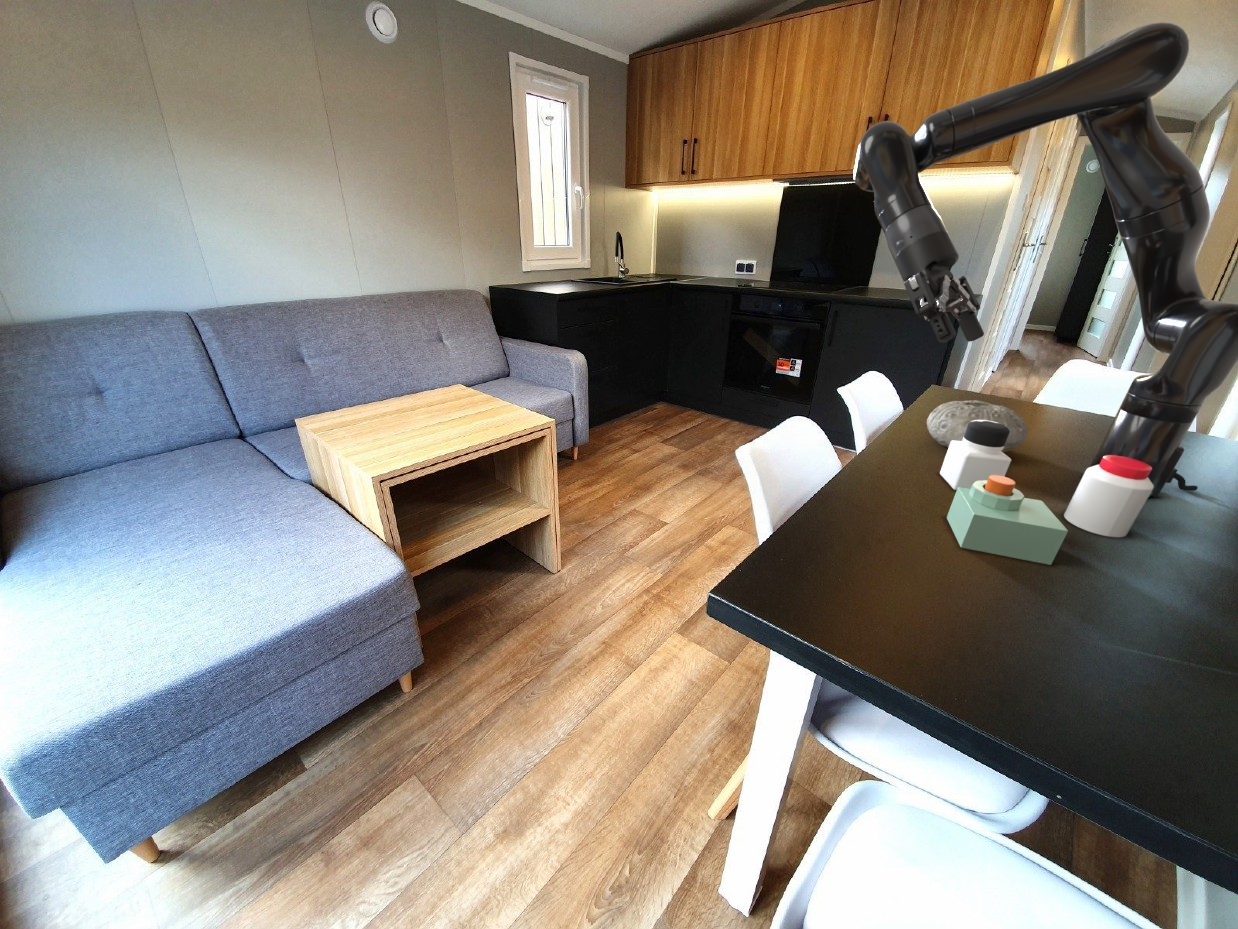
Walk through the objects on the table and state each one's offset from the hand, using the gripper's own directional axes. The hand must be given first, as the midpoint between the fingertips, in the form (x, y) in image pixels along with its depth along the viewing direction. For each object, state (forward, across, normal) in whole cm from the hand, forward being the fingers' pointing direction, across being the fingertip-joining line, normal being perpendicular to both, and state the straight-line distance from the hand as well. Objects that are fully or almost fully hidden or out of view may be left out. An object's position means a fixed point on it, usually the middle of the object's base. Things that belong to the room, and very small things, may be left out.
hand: (962, 339), depth 73 cm
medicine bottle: (+22, +17, +16) cm, 31 cm away
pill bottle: (+33, +20, +2) cm, 39 cm away
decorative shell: (+15, +36, +22) cm, 45 cm away
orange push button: (+23, 0, +4) cm, 23 cm away
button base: (+30, 0, +7) cm, 30 cm away
